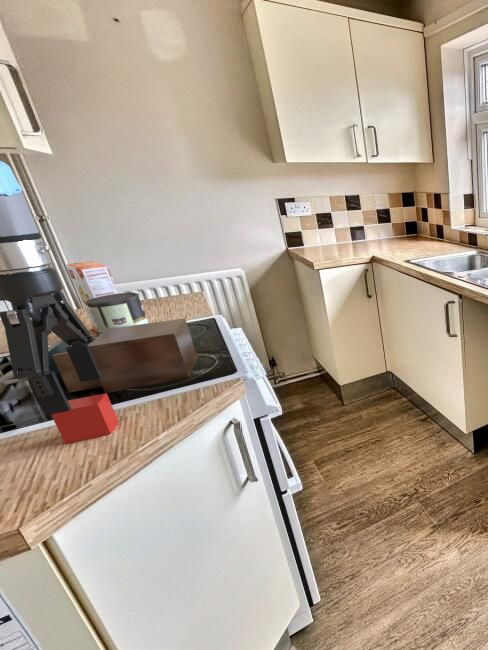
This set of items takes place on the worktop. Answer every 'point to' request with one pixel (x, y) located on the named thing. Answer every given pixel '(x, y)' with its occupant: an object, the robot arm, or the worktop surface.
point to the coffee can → (117, 311)
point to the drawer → (59, 370)
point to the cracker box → (91, 283)
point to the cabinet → (144, 354)
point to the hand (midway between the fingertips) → (76, 394)
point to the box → (86, 419)
